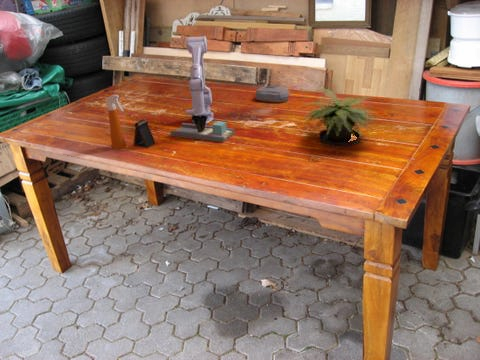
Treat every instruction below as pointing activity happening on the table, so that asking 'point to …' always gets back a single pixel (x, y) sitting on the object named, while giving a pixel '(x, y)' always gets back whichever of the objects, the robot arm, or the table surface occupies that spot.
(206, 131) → the sliding plate with handle
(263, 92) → the soft grey pack
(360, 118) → the fern plant
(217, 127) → the block
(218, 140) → the channel
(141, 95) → the table surface
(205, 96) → the robot arm
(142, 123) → the phone stand
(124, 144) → the spray bottle
